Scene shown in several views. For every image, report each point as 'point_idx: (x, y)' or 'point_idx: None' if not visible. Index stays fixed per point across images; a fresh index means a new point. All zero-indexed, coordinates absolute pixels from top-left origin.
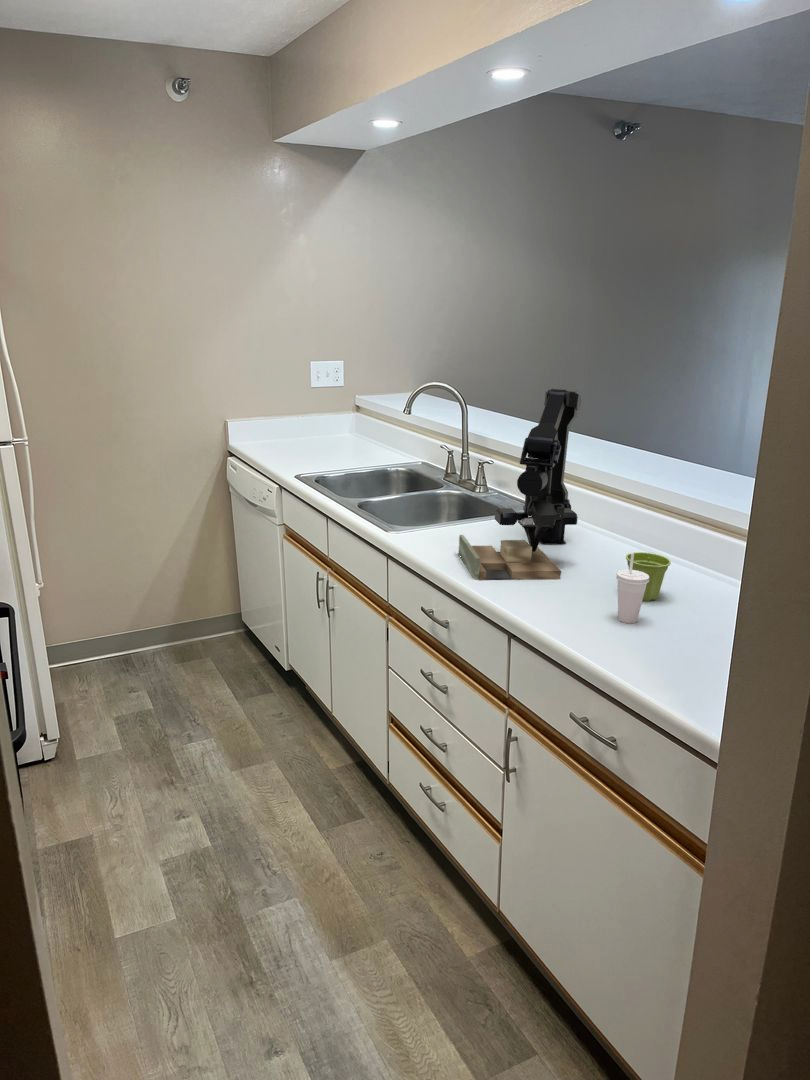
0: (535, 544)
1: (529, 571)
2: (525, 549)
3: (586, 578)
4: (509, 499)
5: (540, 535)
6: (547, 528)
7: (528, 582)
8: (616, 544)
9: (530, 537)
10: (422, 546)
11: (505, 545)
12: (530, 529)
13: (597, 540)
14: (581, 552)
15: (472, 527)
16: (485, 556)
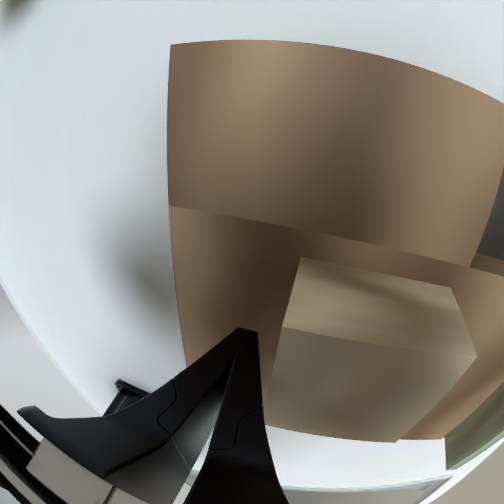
0: (227, 360)
1: (407, 63)
2: (343, 324)
3: (87, 75)
4: (189, 482)
5: (163, 405)
6: (68, 426)
7: (413, 30)
8: (39, 331)
9: (260, 420)
10: None
11: (449, 389)
12: (257, 498)
13: (67, 362)
14: (83, 328)
15: (291, 480)
16: (472, 365)
